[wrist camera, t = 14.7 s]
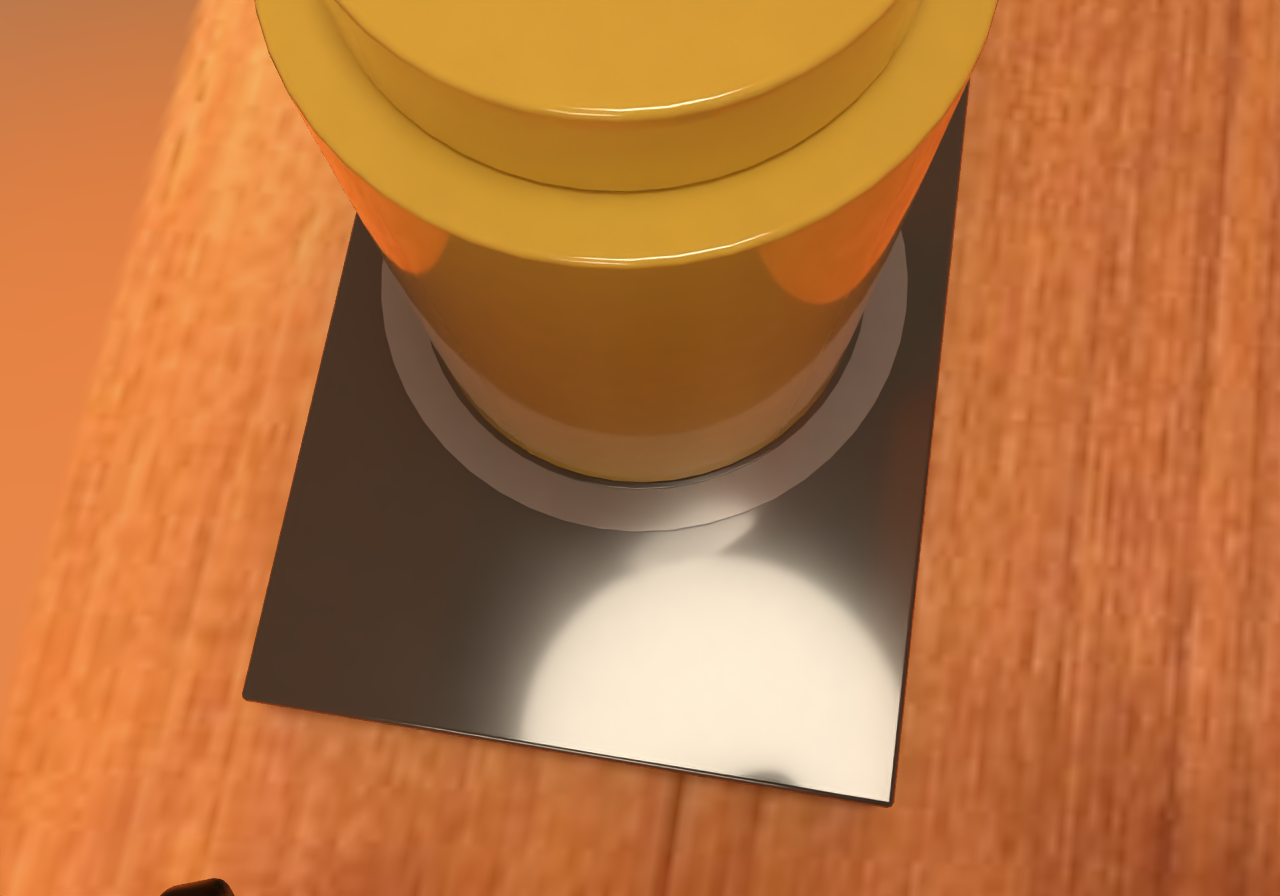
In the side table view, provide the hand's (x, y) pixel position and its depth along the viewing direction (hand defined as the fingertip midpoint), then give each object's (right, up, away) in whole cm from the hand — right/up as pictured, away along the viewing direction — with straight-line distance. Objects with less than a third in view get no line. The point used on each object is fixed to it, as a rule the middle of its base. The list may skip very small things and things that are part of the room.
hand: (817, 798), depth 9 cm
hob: (-1, +5, +10) cm, 11 cm away
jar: (-1, +5, +8) cm, 10 cm away
